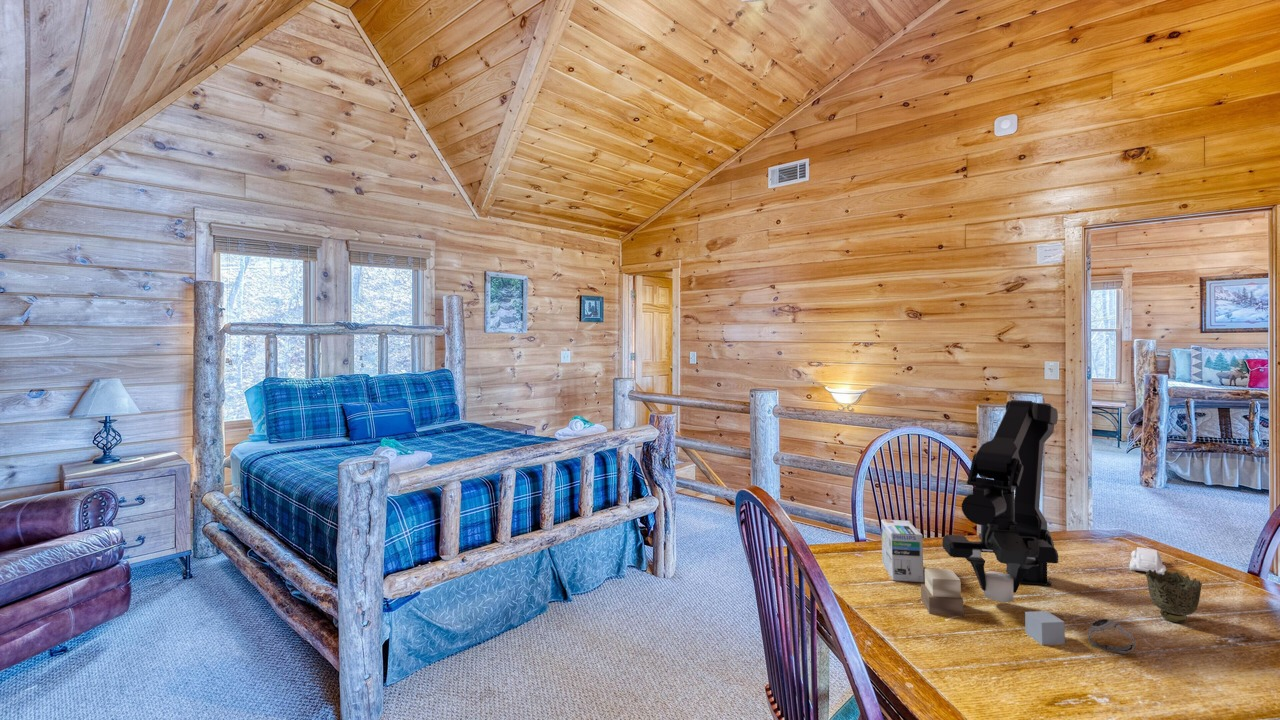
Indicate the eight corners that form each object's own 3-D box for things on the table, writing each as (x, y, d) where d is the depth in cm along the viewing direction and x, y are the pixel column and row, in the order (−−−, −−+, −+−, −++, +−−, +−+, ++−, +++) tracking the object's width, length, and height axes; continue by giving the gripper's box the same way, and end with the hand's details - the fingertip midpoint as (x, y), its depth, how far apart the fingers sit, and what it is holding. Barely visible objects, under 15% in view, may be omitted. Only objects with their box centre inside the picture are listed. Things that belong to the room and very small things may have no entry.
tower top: (951, 586, 111) (951, 569, 111) (960, 597, 106) (960, 580, 106) (924, 585, 112) (924, 568, 112) (932, 596, 107) (932, 578, 107)
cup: (1186, 613, 105) (1186, 571, 104) (1212, 632, 98) (1212, 587, 97) (1138, 607, 107) (1137, 567, 107) (1159, 626, 100) (1159, 582, 100)
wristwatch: (1087, 640, 96) (1087, 612, 96) (1135, 651, 92) (1134, 622, 92) (1087, 648, 93) (1087, 620, 93) (1136, 661, 89) (1136, 631, 89)
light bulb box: (924, 583, 121) (923, 534, 120) (892, 581, 122) (891, 533, 122) (910, 564, 131) (910, 519, 131) (880, 562, 132) (880, 518, 132)
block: (1047, 632, 99) (1046, 610, 99) (1064, 644, 95) (1064, 621, 95) (1025, 633, 99) (1025, 611, 99) (1042, 645, 95) (1041, 622, 95)
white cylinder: (1007, 591, 111) (1007, 572, 111) (1018, 603, 106) (1017, 582, 106) (979, 589, 112) (979, 570, 112) (989, 600, 107) (988, 580, 107)
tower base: (953, 603, 111) (953, 586, 111) (963, 617, 105) (963, 599, 105) (921, 600, 113) (920, 584, 113) (929, 614, 107) (929, 597, 107)
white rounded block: (1167, 580, 119) (1167, 559, 119) (1129, 573, 124) (1129, 553, 123) (1164, 563, 128) (1163, 543, 128) (1128, 557, 133) (1128, 538, 132)
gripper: (958, 523, 103) (959, 605, 104) (1073, 529, 99) (1074, 614, 99) (941, 506, 114) (942, 580, 114) (1043, 510, 110) (1044, 588, 110)
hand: (998, 590), depth 109 cm, fingers closed on white cylinder, 5 cm apart
